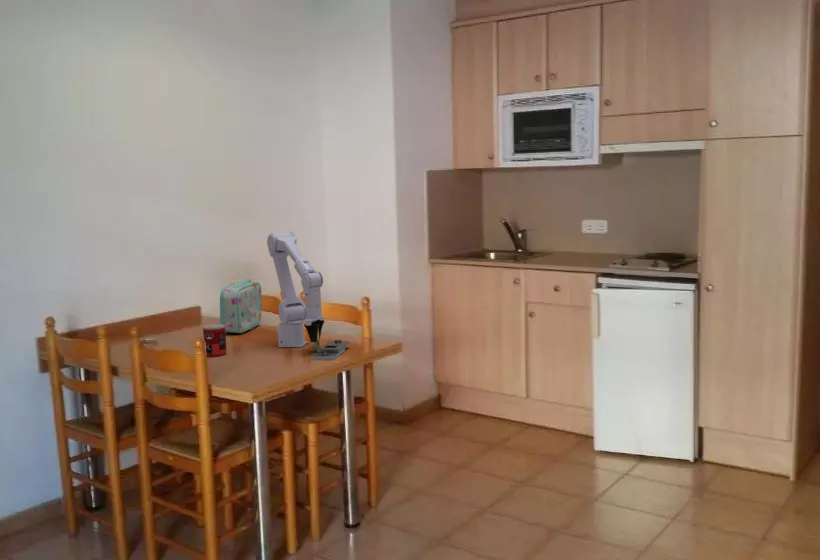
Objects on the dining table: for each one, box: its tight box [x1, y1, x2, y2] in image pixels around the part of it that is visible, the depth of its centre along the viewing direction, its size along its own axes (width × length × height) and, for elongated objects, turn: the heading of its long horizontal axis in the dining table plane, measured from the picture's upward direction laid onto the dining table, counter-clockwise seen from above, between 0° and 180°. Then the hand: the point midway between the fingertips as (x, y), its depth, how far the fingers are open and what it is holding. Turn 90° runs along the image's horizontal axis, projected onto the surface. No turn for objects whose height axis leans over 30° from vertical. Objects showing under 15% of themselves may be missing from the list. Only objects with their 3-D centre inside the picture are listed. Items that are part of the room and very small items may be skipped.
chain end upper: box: [316, 339, 350, 353], centre depth 301 cm, size 8×14×2 cm, turn 168°
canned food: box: [202, 323, 228, 358], centre depth 303 cm, size 8×8×11 cm
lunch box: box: [219, 278, 263, 334], centre depth 350 cm, size 27×10×21 cm, turn 169°
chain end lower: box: [311, 347, 346, 361], centre depth 295 cm, size 8×14×2 cm, turn 168°
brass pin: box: [310, 328, 321, 351], centre depth 302 cm, size 3×3×8 cm
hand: (315, 340), depth 302 cm, fingers closed on brass pin, 3 cm apart
